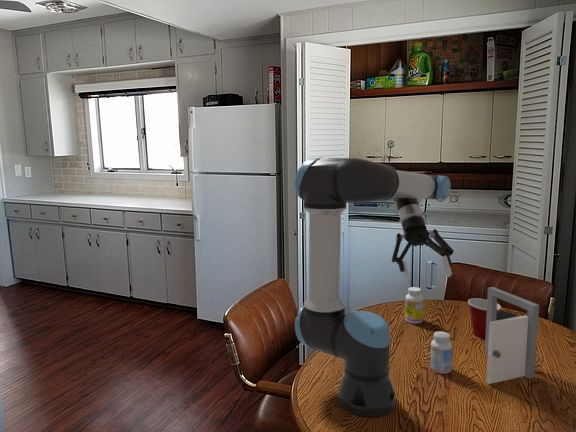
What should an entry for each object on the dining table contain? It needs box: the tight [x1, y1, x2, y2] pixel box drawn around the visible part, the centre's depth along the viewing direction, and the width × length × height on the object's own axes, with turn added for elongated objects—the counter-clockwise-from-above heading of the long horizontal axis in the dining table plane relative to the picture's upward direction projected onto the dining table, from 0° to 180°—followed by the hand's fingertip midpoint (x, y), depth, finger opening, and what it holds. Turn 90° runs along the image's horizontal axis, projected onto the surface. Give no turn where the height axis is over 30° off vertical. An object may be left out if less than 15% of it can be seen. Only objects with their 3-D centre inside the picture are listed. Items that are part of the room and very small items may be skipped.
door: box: [486, 315, 528, 385], centre depth 126 cm, size 13×2×18 cm, turn 108°
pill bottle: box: [430, 331, 453, 374], centre depth 134 cm, size 6×6×11 cm
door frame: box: [484, 286, 540, 380], centre depth 135 cm, size 2×18×22 cm, turn 18°
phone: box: [496, 309, 518, 321], centre depth 172 cm, size 8×1×15 cm
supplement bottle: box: [404, 286, 424, 325], centre depth 171 cm, size 7×7×13 cm
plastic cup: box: [467, 297, 502, 339], centre depth 157 cm, size 11×11×12 cm
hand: (429, 278), depth 142 cm, fingers open, 13 cm apart
